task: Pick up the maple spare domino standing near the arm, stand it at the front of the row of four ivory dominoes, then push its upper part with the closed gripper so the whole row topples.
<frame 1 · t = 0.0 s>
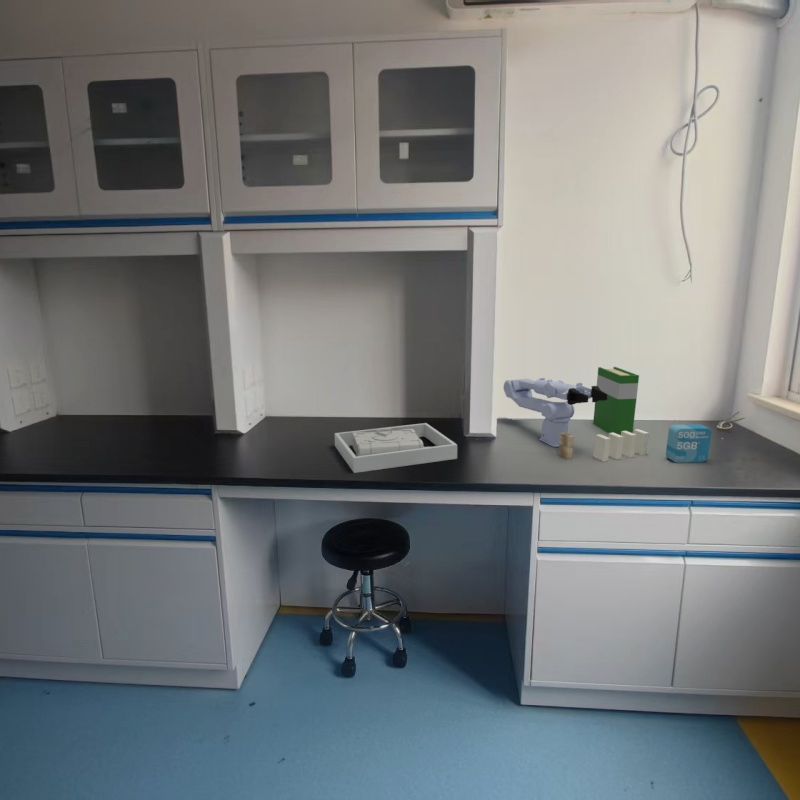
hand: (597, 398, 168), 22 cm above the worktop, tool horizontal, fingers open, 7 cm apart
domino 4: (626, 454, 178), on the worktop
data package: (685, 460, 173), on the worktop
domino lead: (565, 456, 176), on the worktop
domino 5: (638, 453, 180), on the worktop
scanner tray: (393, 452, 182), on the worktop
domino 3: (613, 456, 176), on the worktop
domino 2: (600, 458, 174), on the worktop
grey case: (393, 453, 182), resting in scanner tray
hardback book: (611, 430, 206), on the worktop
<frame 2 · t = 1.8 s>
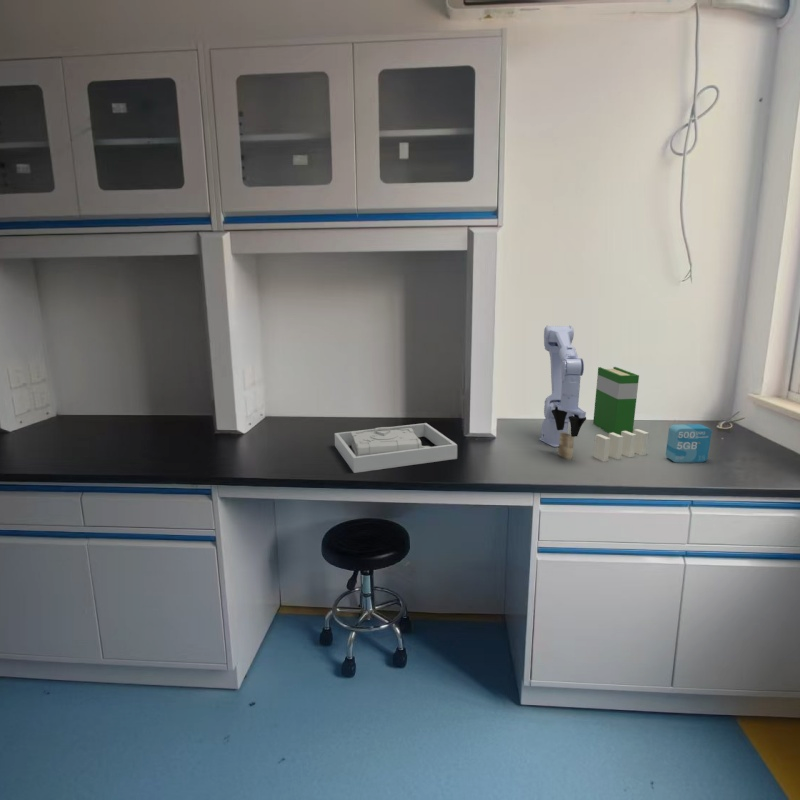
hand: (567, 433, 174), 9 cm above the worktop, tool pointing down, fingers open, 7 cm apart
grey case: (392, 453, 183), resting in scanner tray
everything else where it was.
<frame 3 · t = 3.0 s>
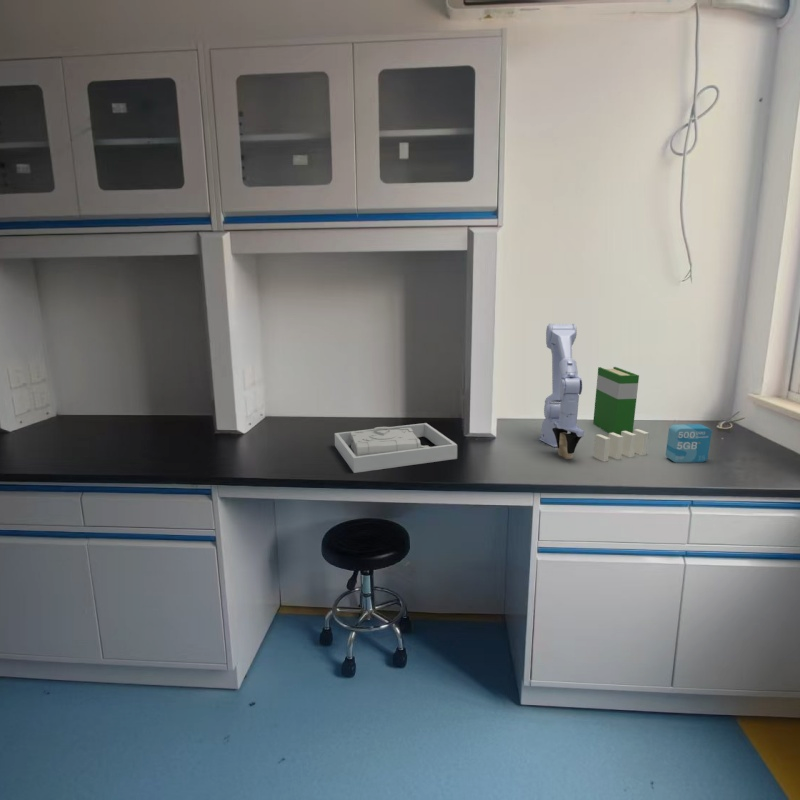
hand: (565, 450, 176), 2 cm above the worktop, tool pointing down, fingers closed on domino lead, 5 cm apart
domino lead: (565, 456, 176), on the worktop, touching gripper
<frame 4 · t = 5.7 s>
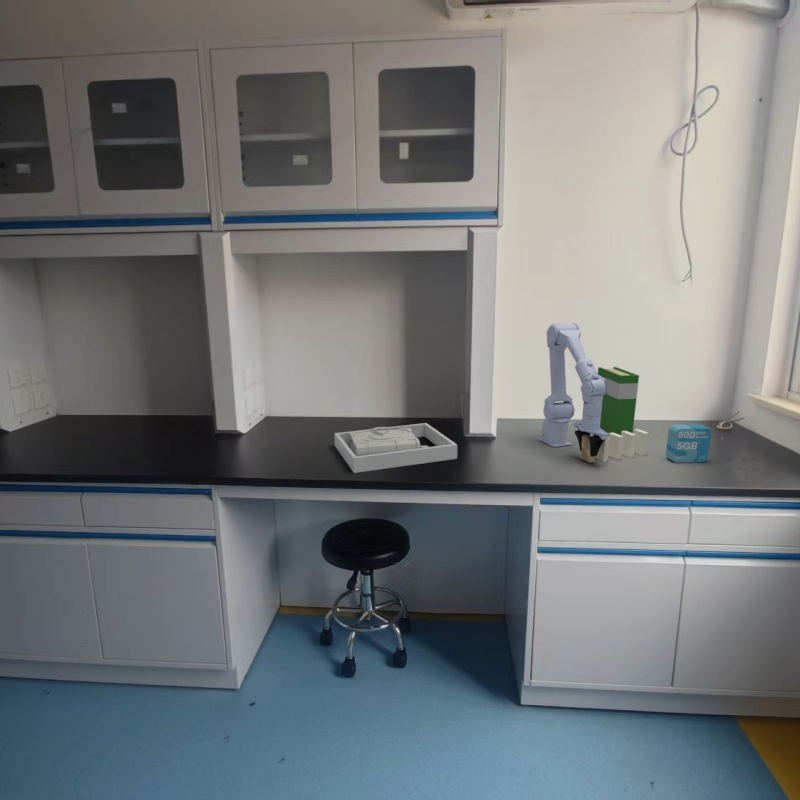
hand: (588, 453, 172), 3 cm above the worktop, tool pointing down, fingers closed on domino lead, 4 cm apart
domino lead: (587, 459, 172), on the worktop, touching gripper
when the fingers open (3 cm above the worktop, at t = 6.0 s): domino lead stays where it is, on the worktop.
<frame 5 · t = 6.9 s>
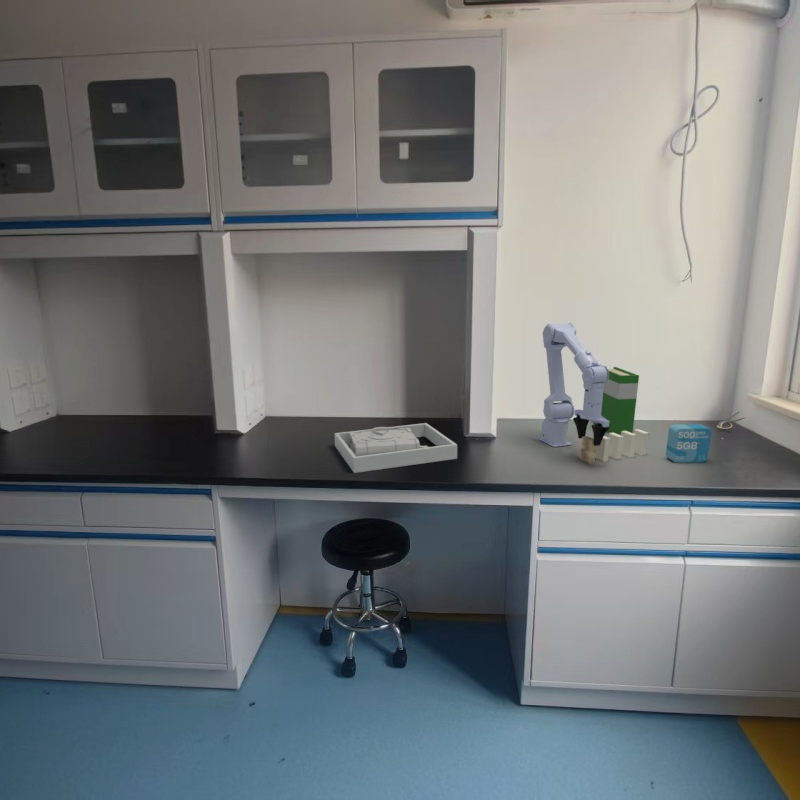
hand: (589, 441, 171), 7 cm above the worktop, tool pointing down, fingers open, 7 cm apart
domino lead: (587, 460, 172), on the worktop
grey case: (390, 452, 183), resting in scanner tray
everything else where it was.
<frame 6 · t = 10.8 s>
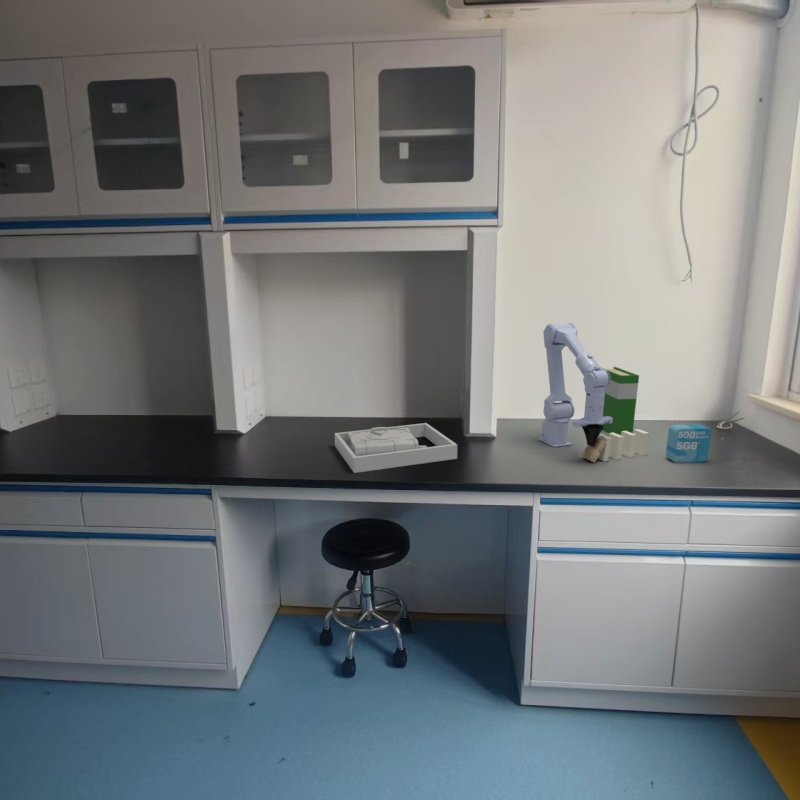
hand: (590, 445, 171), 5 cm above the worktop, tool pointing down, fingers closed
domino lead: (587, 459, 172), on the worktop, tilted 31°
grey case: (388, 452, 183), resting in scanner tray
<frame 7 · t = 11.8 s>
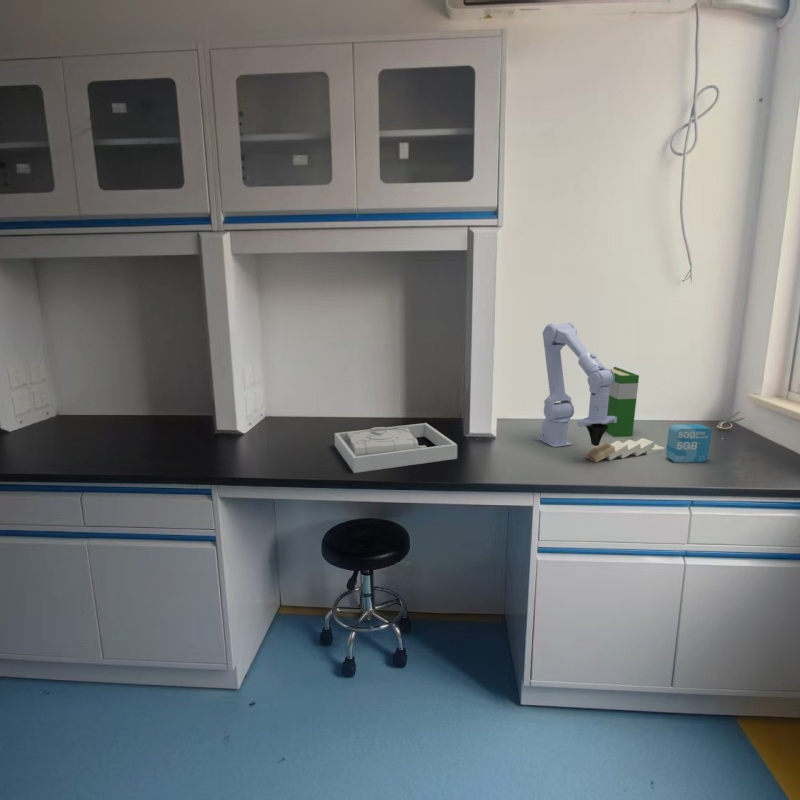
hand: (594, 444, 172), 5 cm above the worktop, tool pointing down, fingers closed
domino 4: (631, 451, 178), point 1 cm above the worktop, tilted 72°, touching domino 3, domino 5
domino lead: (591, 457, 173), point 1 cm above the worktop, tilted 69°, touching domino 2
domino 5: (641, 451, 180), on the worktop, tilted 90°, touching domino 4
domino 3: (617, 453, 176), point 1 cm above the worktop, tilted 70°, touching domino 2, domino 4
domino 2: (604, 455, 174), point 1 cm above the worktop, tilted 68°, touching domino 3, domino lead
grey case: (388, 452, 183), resting in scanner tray
everything else where it was.
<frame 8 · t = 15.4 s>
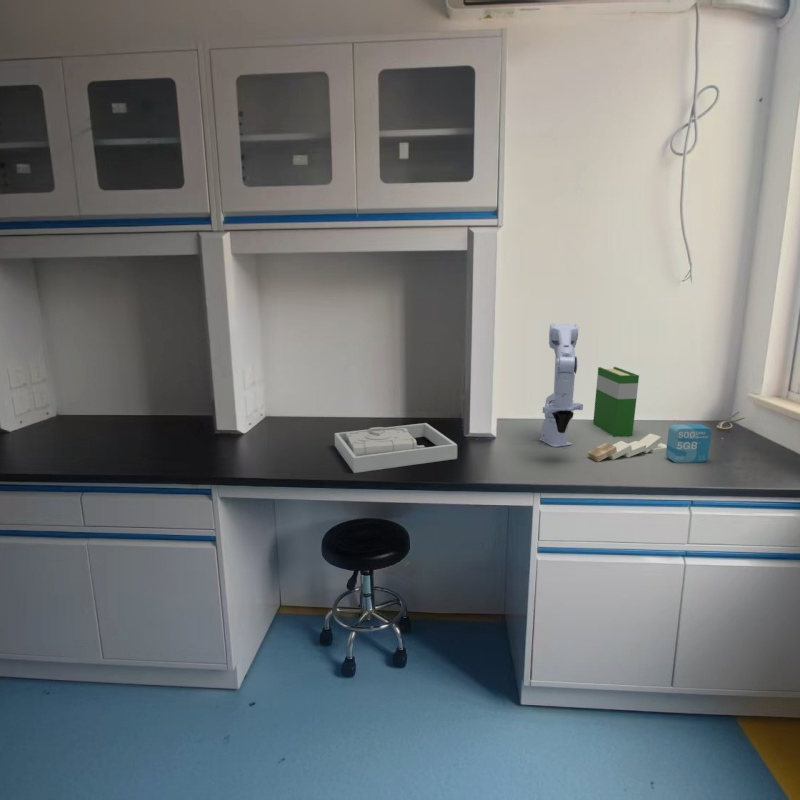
hand: (561, 432, 171), 10 cm above the worktop, tool pointing down, fingers closed
domino 4: (640, 449, 180), point 1 cm above the worktop, tilted 65°
domino 5: (647, 450, 181), on the worktop, tilted 90°
domino 3: (622, 452, 177), point 1 cm above the worktop, tilted 77°, touching domino 2
domino 2: (607, 455, 175), point 1 cm above the worktop, tilted 71°, touching domino 3, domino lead
grey case: (386, 452, 183), resting in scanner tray
at the end: domino 5 tilted 90°; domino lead inside the target area (0.7 cm from its centre), point 0.9 cm above the worktop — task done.
